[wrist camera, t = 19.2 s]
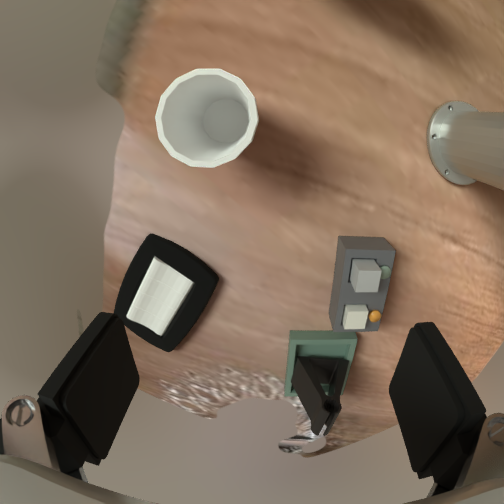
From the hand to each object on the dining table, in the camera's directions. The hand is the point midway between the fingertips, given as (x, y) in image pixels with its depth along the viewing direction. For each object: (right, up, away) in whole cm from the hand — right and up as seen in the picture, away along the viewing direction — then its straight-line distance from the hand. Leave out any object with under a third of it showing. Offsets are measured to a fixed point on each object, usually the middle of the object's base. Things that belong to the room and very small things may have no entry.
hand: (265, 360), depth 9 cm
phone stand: (+11, -17, +40) cm, 45 cm away
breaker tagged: (+14, -5, +34) cm, 37 cm away
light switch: (-15, -4, +40) cm, 42 cm away
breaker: (+14, +1, +30) cm, 33 cm away
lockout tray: (+11, -16, +42) cm, 46 cm away
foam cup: (-4, +20, +28) cm, 35 cm away
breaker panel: (+15, 0, +35) cm, 38 cm away
